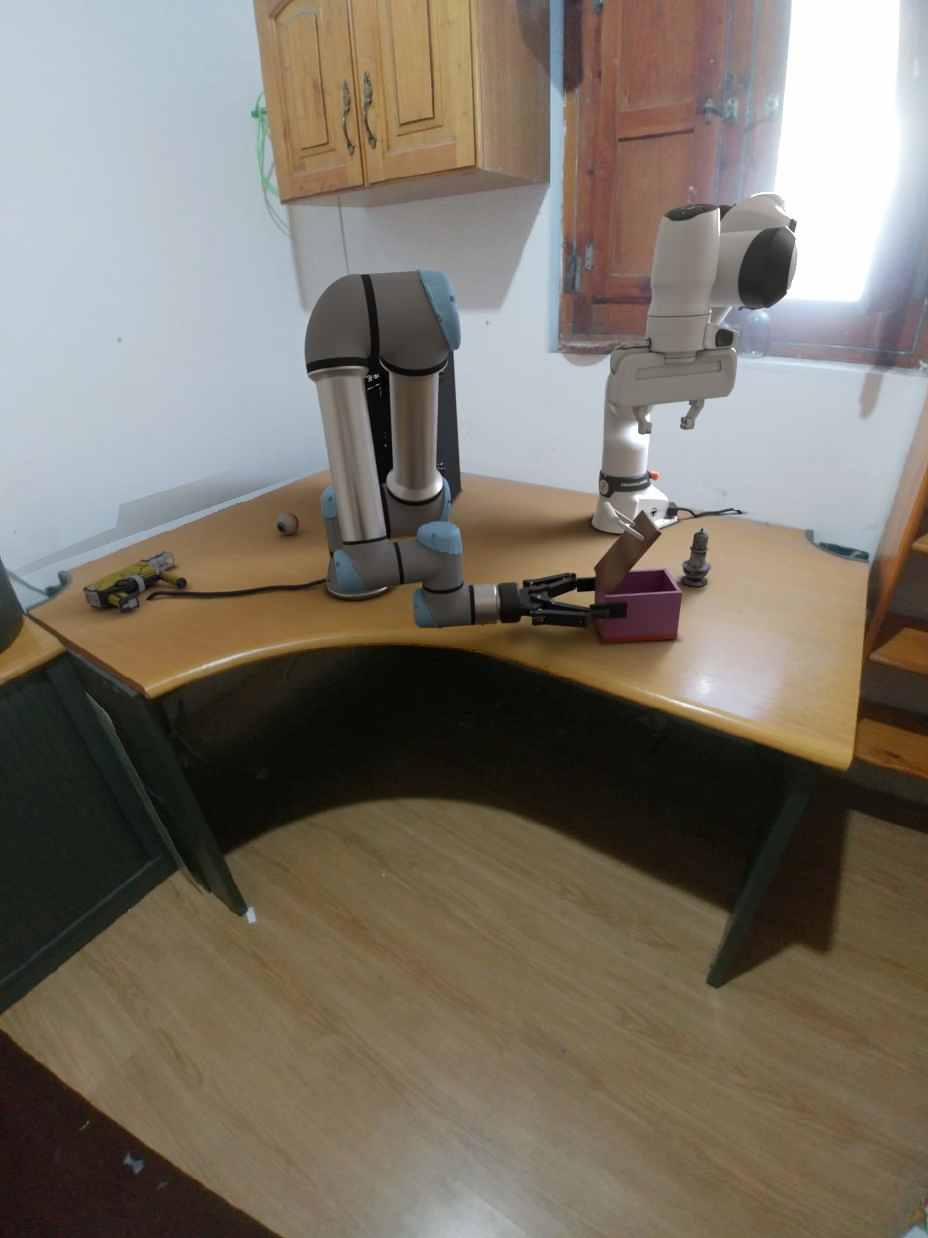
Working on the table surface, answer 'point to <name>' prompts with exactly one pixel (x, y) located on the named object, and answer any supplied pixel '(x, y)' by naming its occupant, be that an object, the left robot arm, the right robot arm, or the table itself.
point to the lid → (625, 547)
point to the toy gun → (131, 583)
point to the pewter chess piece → (697, 561)
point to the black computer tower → (445, 423)
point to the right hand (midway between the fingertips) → (665, 431)
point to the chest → (642, 607)
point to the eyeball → (287, 523)
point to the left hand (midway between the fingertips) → (618, 595)
